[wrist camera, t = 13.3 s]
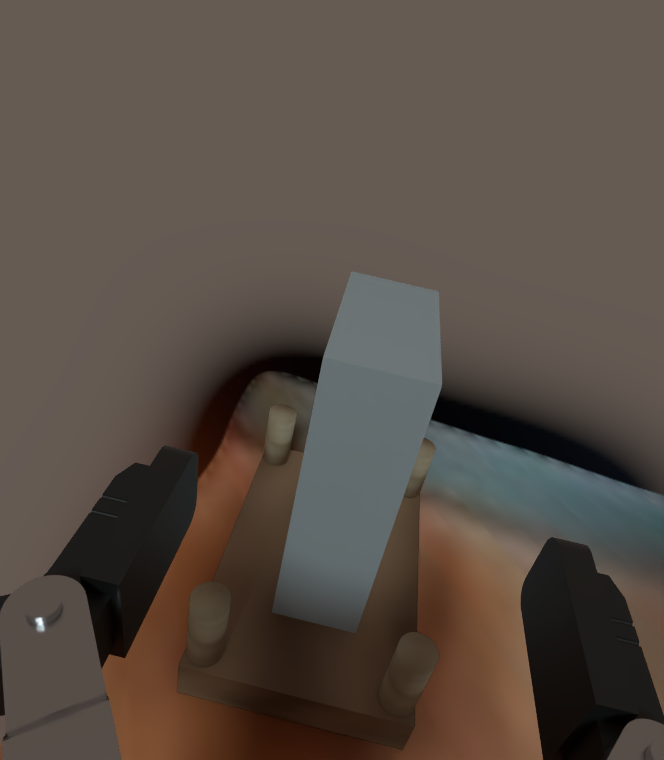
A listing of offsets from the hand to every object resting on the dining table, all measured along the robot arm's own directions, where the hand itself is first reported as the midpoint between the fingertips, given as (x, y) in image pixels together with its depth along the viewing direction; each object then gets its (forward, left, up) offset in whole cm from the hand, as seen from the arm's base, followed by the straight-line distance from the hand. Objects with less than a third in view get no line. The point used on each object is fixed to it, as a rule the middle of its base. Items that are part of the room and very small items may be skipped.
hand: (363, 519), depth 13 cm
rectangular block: (0, -11, -14) cm, 18 cm away
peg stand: (0, -11, -16) cm, 19 cm away
